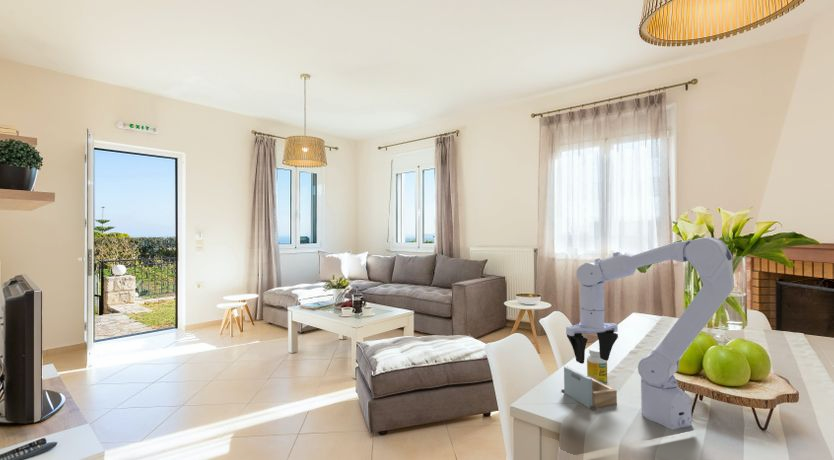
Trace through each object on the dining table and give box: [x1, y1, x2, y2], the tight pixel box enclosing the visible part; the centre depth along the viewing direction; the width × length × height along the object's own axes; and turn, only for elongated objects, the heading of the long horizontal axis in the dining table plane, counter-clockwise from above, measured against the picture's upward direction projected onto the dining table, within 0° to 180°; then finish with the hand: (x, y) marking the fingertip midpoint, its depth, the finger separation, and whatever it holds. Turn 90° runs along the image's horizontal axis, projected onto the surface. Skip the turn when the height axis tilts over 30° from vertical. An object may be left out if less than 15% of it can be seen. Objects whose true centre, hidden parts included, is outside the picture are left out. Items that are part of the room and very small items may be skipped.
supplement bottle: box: [586, 347, 608, 384], centre depth 112 cm, size 5×5×10 cm
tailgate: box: [563, 366, 592, 409], centre depth 98 cm, size 9×1×7 cm, turn 17°
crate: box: [560, 375, 618, 411], centre depth 99 cm, size 12×8×4 cm
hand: (592, 360), depth 100 cm, fingers open, 7 cm apart
